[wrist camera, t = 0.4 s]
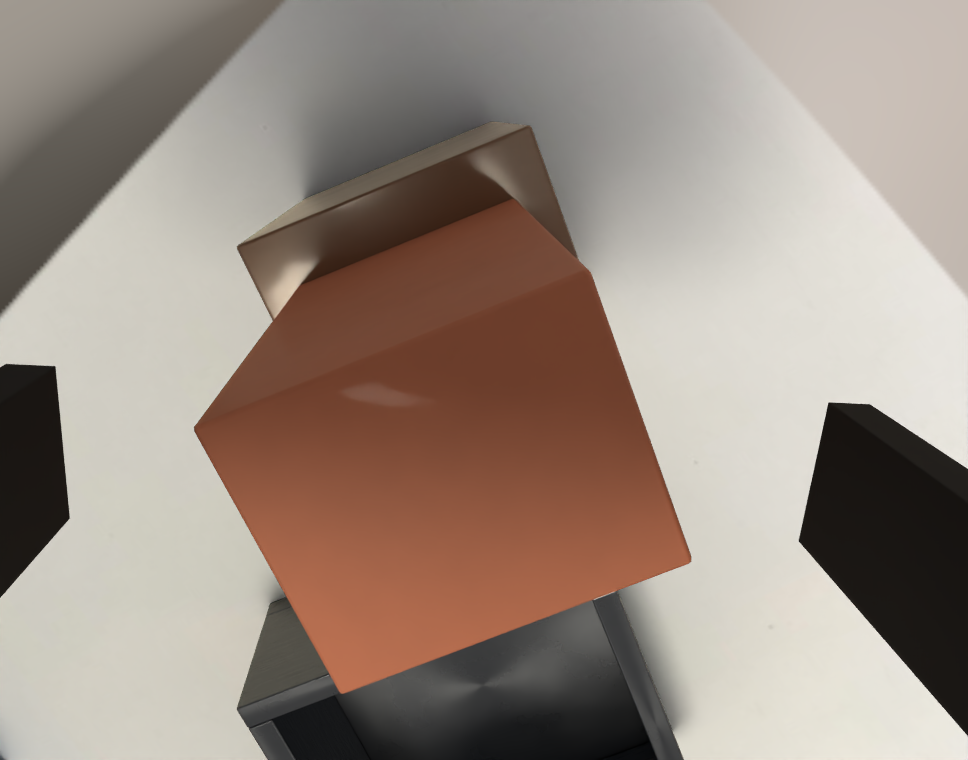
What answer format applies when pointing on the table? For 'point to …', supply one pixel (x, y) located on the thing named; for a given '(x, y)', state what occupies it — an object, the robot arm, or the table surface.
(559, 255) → the block
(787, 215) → the table surface
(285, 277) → the plinth
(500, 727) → the dark grey storage bin
